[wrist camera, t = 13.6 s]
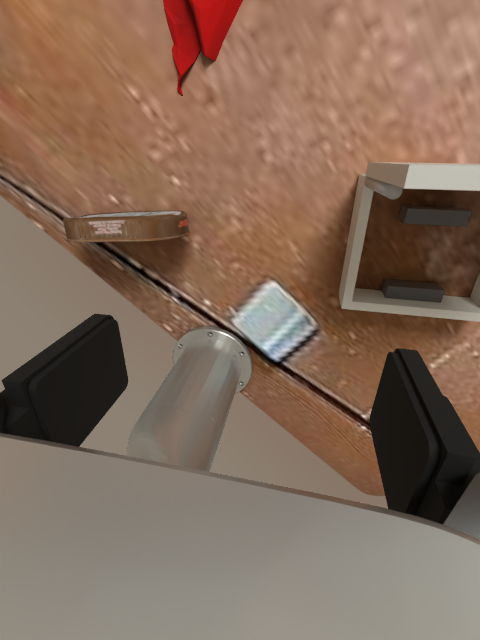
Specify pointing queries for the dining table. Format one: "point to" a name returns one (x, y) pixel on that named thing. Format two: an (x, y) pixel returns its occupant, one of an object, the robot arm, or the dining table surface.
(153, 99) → the dining table surface
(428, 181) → the equipment case
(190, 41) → the cloth
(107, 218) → the tin
